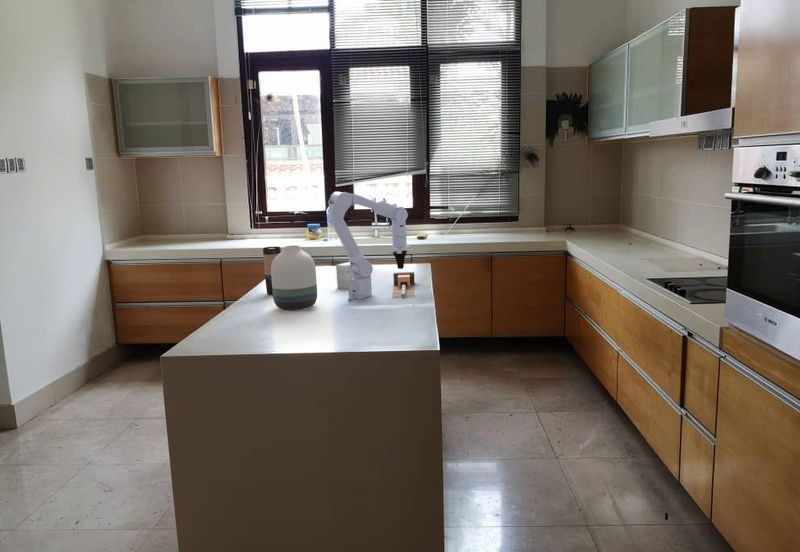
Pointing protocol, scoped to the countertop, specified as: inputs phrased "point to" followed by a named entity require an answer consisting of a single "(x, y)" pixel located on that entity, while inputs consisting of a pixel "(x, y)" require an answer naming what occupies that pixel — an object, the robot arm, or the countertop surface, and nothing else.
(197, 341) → the countertop surface
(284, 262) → the vase
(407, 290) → the rail board
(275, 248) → the travel mug
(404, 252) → the robot arm
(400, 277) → the slider block
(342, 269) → the small box
